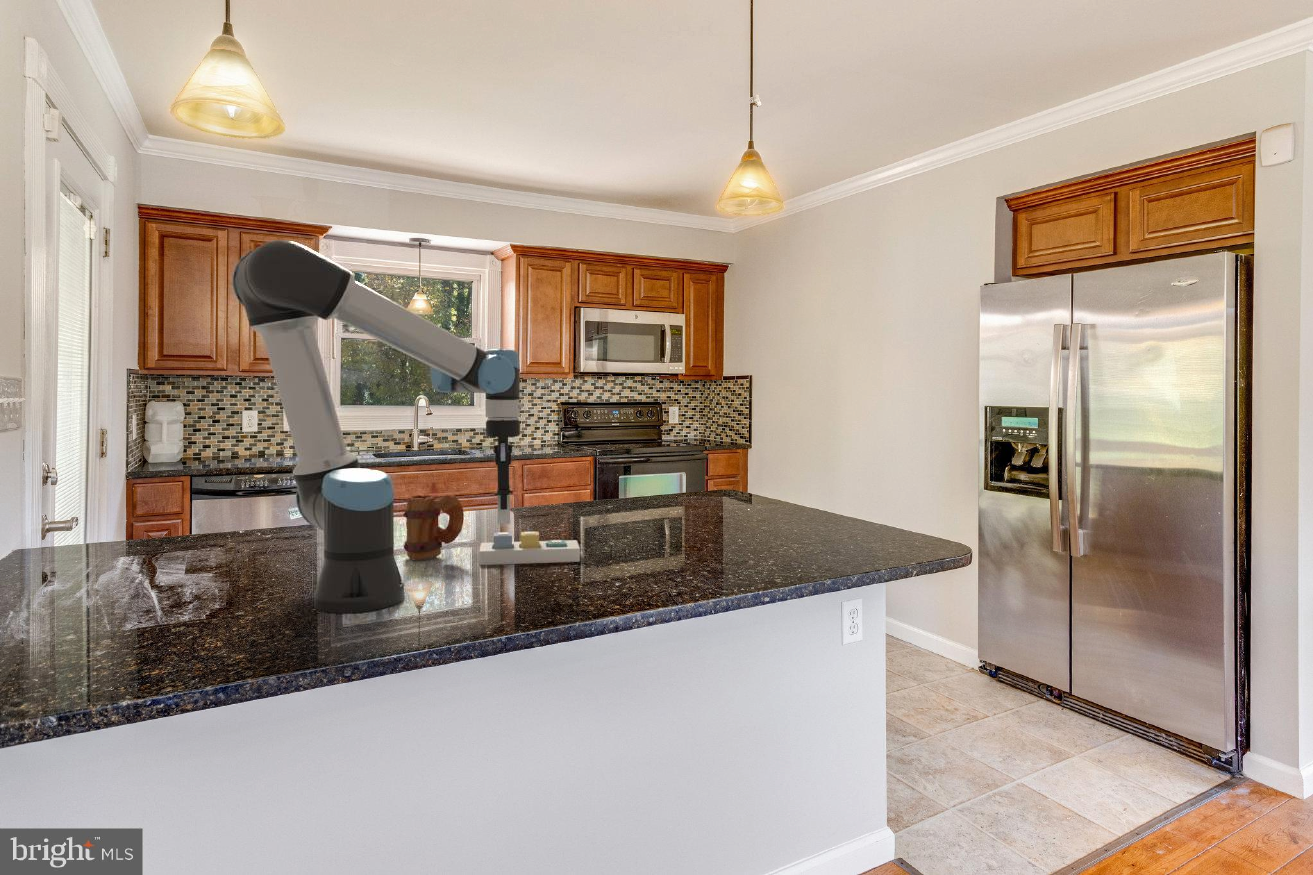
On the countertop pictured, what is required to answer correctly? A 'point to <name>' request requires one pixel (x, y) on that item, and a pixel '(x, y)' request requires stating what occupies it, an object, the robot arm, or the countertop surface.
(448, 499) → the mug
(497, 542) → the key
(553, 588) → the countertop surface
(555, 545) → the key
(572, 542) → the keypad
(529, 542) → the key
